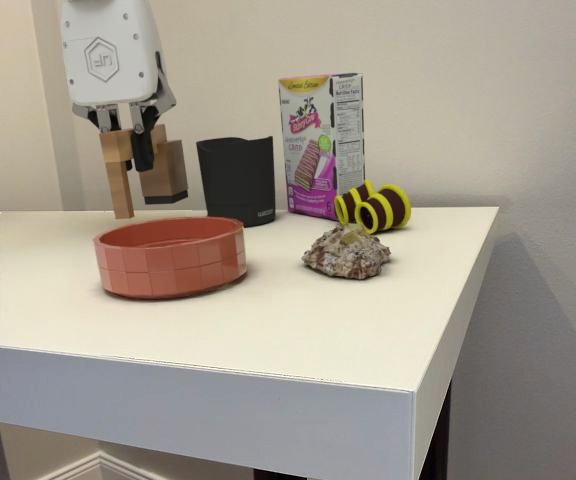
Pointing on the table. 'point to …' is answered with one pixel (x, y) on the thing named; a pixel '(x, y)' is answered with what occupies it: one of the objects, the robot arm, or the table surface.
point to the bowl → (171, 256)
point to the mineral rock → (347, 252)
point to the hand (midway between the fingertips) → (134, 169)
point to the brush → (154, 183)
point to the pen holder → (238, 178)
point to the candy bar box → (322, 140)
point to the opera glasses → (374, 207)
